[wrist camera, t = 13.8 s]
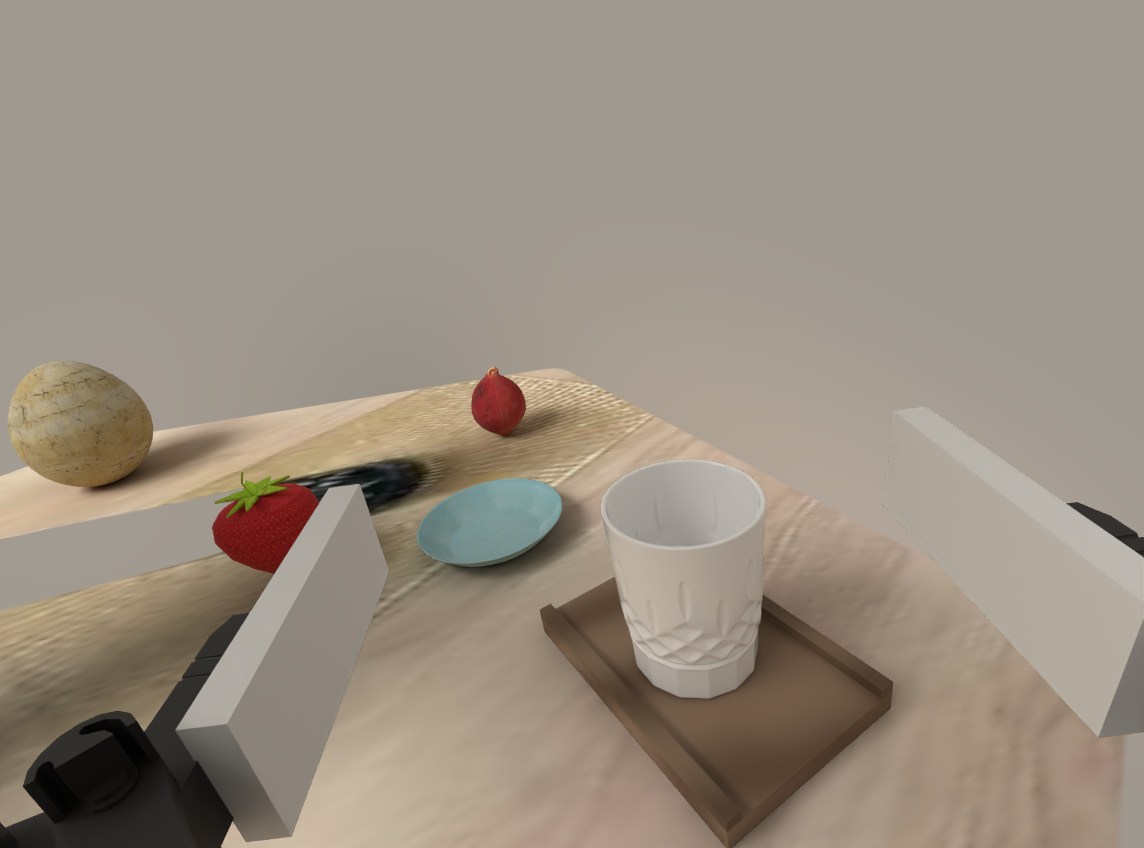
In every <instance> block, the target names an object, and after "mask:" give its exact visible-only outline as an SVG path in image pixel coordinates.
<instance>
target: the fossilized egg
mask: <svg viewBox="0 0 1144 848" xmlns="http://www.w3.org/2000/svg"><path fill="white" fill-rule="evenodd" d="M8 431H9V435H10V439H11V442H12V445H13V447H14V449H15V450H16V452H17V454H18V455H19V457H20V458H21V459H22V460H23V461H24V462H25V463H26V464H27V465H28V466H29V467H30V468H31V469H32V470H34V471H35V472H37V473H38V474H40V475H42V476H43V477H45V478H47V479H50V480H52V481H55V482H58V483H61V484H65V485H71V486H77V487H93V486H101V485H105V484H108V483H111V482H114V481H117V480H119V479H121V478H123V477H125V476H127V475H128V474H130V473H131V472H132V471H133V470H135V469H136V468H137V467H138V466H139V465H140V464H141V463H142V461H143V460H144V458H145V457H146V455H147V454H148V452H149V449H150V446H151V442H152V439H153V424H152V419H151V415H150V413H149V411H148V409H147V407H146V405H145V403H144V402H143V401H142V399H141V398H140V396H139V395H138V394H137V393H136V392H135V391H134V390H133V389H132V388H131V387H129V386H128V385H127V384H126V383H125V382H123V381H122V380H120V379H119V378H117V377H115V376H114V375H112V374H110V373H108V372H106V371H104V370H102V369H100V368H97V367H94V366H91V365H88V364H85V363H81V362H76V361H54V362H50V363H46V364H43V365H41V366H39V367H37V368H35V369H34V370H32V371H31V372H30V373H28V374H27V376H26V377H25V378H24V379H23V380H22V381H21V382H20V384H19V386H18V387H17V389H16V391H15V393H14V395H13V398H12V401H11V404H10V408H9V414H8Z"/></svg>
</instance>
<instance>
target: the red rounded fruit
mask: <svg viewBox="0 0 1144 848" xmlns="http://www.w3.org/2000/svg"><path fill="white" fill-rule="evenodd" d="M471 407H472V414H473V417H474V419H475V421H476V422H477V423H478V424H479V425H480V426H481V427H482V428H484V429H486V430H487V431H489V432H492V433H496V434H499V435H502V436H507V435H509V434H510V433H511V432H512V430H513V429H514V428H515V427H516V426H517V425H518V423H519V422H520V421H521V419H522V418H523V416H524V413H525V410H526V403H525V399H524V396H523V393H522V391H521V390H520V388H519V387H518V386H517V385H516V384H515V383H514V382H513V381H512V380H510V379H508V378H506V377H504V376H501V375H499V373H498V369H497V368H496V367H492V368H490V369H489V371H488V372H487V374H486V376H485V377H484V378H483V379H482V380H481V381H480V382H479V383H478V385H477V386H476V388H475V390H474V392H473V395H472V404H471Z"/></svg>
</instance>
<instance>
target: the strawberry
mask: <svg viewBox="0 0 1144 848" xmlns="http://www.w3.org/2000/svg"><path fill="white" fill-rule="evenodd" d="M289 477H290V476H286V477H283V478H280V479H276V480H273V481H270V478H271V476H270V477H268V478H266V479H264V480H262V481H260V482H258V483H256V484H255V483H252V482H249V481H246V482H245V485H244V484H243V472H241V484H242V485H243V487H244V491H240V492H237V493H233V494H231V495H230V496H228V497H225V498H223V499H220V500H218V501H216V502H215V504H217V503H223V502H229V501H234V502H232V503H231V504H229V505H228V506H227V507H225V508H224V509H223V510H222V511H221V512H220V513H219V515H218V516H217V518H216V520H215V522H214V524H213V527H212V530H213V535H214V541H215V543H216V545H217V546H218V547H219V548H220V549H222V550H223V551H224V552H225V553H226V554H227V555H228V556H229V557H230V558H231V559H232V560H234V561H236V562H239V563H241V564H244V565H246V566H249V567H251V568H254V569H257V570H261V571H265V572H270V573H273V574H275V572H276V571H277V569H278V568H279V566H280V565H281V563H282V561H283V560H284V558H285V557H286V555H287V554H288V552H289V550H290V549H291V547H292V546H293V544H294V543H295V541H296V539H297V538H298V536H299V535H300V533H301V532H302V530H303V528H304V527H305V525H306V524H307V522H308V521H309V519H310V517H311V516H312V514H313V513H314V511H315V509H316V508H317V506H318V505H319V501H318V500H317V498H316V497H315V495H314V494H313V493H312V491H311V490H310V489H308V488H306V487H303V486H300V485H297V484H281V485H277V484H279V483H280V482H282V481H284V480H285V479H287V478H289ZM269 481H270V482H269ZM275 485H276V486H275ZM235 500H236V501H235Z"/></svg>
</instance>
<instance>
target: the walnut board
mask: <svg viewBox="0 0 1144 848" xmlns="http://www.w3.org/2000/svg"><path fill="white" fill-rule="evenodd" d="M540 613H541V617H542V622H543V626H544V631H545V632H546V634H547V635H548V636H549V637H550V638H551V639H552V641H553V642H554V643H555V644H556V645H557V647H558V648H559V649H560V650H561V651H562V653H563V654H564V655H565V656H566V657H567V659H568V660H569V661H570V662H571V663H572V664H573V666H574V667H575V668H576V669H577V670H578V672H579V673H580V674H581V675H582V676H583V678H584V679H585V680H586V681H587V682H588V683H589V685H590V686H591V687H592V688H593V689H594V691H595V692H596V693H597V694H598V695H599V697H600V698H601V699H602V700H603V701H604V703H605V704H606V705H607V706H608V707H609V708H610V710H611V711H612V712H613V713H614V714H615V716H616V717H617V718H618V719H619V720H620V722H621V723H622V724H623V725H624V726H625V728H626V729H627V730H628V731H629V732H630V733H631V735H632V736H633V737H634V738H635V739H636V741H637V742H638V743H639V744H640V745H641V747H642V748H643V749H644V750H645V751H646V752H647V754H648V755H649V756H650V757H651V758H652V760H653V761H654V762H655V763H656V764H657V766H658V767H659V768H660V769H661V770H662V772H663V773H664V774H665V775H666V776H667V777H668V779H669V780H670V781H671V782H672V783H673V785H674V786H675V787H676V788H677V789H678V791H679V792H680V793H681V794H682V795H683V797H684V798H685V799H686V800H687V801H688V802H689V804H690V805H691V806H692V807H693V808H694V810H695V811H696V812H697V813H698V814H699V816H700V817H701V818H702V819H703V820H704V821H705V823H706V824H707V825H708V826H709V827H710V829H711V830H712V831H713V832H714V833H715V835H716V836H717V837H718V838H719V839H720V841H721V842H722V843H723V844H724V845H725V846H726V848H731V847H732V846H733V845H735V844H736V843H737V842H738V841H739V840H740V839H741V838H743V837H744V836H745V835H746V834H747V833H748V832H749V831H751V830H752V829H753V828H754V827H755V826H756V825H757V824H759V823H760V822H761V821H762V820H763V819H764V818H765V817H766V816H768V815H769V814H770V813H771V812H772V811H773V810H774V809H776V808H777V807H778V806H779V805H780V804H781V803H782V802H784V801H785V800H786V799H787V798H788V797H789V796H790V795H792V794H793V793H794V792H795V791H796V790H797V789H798V788H800V787H801V786H802V785H803V784H804V783H805V782H806V781H808V780H809V779H810V778H811V777H812V776H813V775H814V774H816V773H817V772H818V771H819V770H820V769H821V768H822V767H824V766H825V765H826V764H827V763H828V762H829V761H830V760H831V759H833V758H834V757H835V756H836V755H837V754H838V753H839V752H841V751H842V750H843V749H844V748H845V747H846V746H847V745H849V744H850V743H851V742H852V741H853V740H854V739H855V738H857V737H858V736H859V735H860V734H861V733H862V732H863V731H865V730H866V729H867V728H868V727H869V726H870V725H871V724H873V723H874V722H875V721H876V720H877V719H878V718H879V717H881V716H882V715H883V714H884V713H885V712H886V711H887V710H889V709H890V706H891V697H892V687H893V682H892V681H891V680H889V679H888V678H886V677H885V676H883V675H882V674H880V673H879V672H877V671H876V670H874V669H873V668H871V667H870V666H868V665H867V664H865V663H864V662H862V661H861V660H859V659H858V658H856V657H855V656H853V655H852V654H850V653H849V652H847V651H846V650H844V649H843V648H841V647H840V646H838V645H837V644H835V643H834V642H833V641H831V640H830V639H828V638H827V637H825V636H824V635H822V634H821V633H819V632H818V631H816V630H815V629H813V628H812V627H810V626H809V625H807V624H806V623H804V622H803V621H801V620H800V619H798V618H797V617H795V616H794V615H792V614H791V613H789V612H788V611H786V610H785V609H783V608H782V607H780V606H779V605H777V604H776V603H774V602H773V601H771V600H770V599H768V598H767V597H765V596H764V595H762V604H761V621H760V624H759V626H758V650H757V656H756V661H755V667H754V671H753V672H752V673H751V674H750V675H749V676H748V677H747V678H746V679H745V681H744V682H743V683H742V684H741V685H740V686H739V687H738V688H737V689H735V690H732V691H730V692H727V693H724V694H721V695H719V696H716V697H713V698H710V699H704V698H682V697H678V696H675V695H673V694H671V693H669V692H667V691H664V690H662V689H660V688H658V687H656V686H654V685H653V684H652V683H651V682H650V681H649V680H648V678H647V677H646V676H645V675H644V674H643V673H642V671H641V670H640V669H639V668H638V667H637V663H636V658H635V653H634V648H633V643H632V638H631V635H630V632H629V628H628V625H627V623H626V622H625V618H624V613H623V610H622V606H621V602H620V598H619V593H618V589H617V584H616V579H615V577H614V578H612V579H610V580H608V581H606V582H604V583H603V584H601V585H599V586H597V587H595V588H593V589H592V590H590V591H588V592H586V593H584V594H583V595H581V596H579V597H577V598H575V599H573V600H572V601H570V602H568V603H566V604H564V605H562V606H561V607H559V608H557V609H555V608H554V607H553V606H552V605H551V604H549V605H548V606H546V607H544V608H542V609H540Z"/></svg>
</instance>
